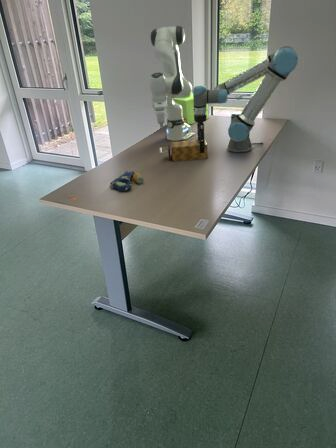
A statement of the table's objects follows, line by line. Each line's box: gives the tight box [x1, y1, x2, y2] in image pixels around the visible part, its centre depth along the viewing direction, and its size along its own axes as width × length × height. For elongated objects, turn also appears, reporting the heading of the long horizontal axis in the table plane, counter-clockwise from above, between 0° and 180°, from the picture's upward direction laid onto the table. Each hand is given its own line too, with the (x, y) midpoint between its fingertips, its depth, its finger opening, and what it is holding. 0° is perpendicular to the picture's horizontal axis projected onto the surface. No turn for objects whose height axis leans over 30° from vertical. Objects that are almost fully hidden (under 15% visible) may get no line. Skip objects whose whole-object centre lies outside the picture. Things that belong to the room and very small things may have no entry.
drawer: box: [159, 143, 172, 160], centre depth 210 cm, size 26×10×7 cm, turn 91°
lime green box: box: [173, 92, 209, 126], centre depth 283 cm, size 25×21×23 cm
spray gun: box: [109, 170, 144, 192], centre depth 182 cm, size 21×4×15 cm
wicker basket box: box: [170, 139, 208, 162], centre depth 210 cm, size 22×11×9 cm, turn 91°
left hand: (161, 127), depth 202 cm, fingers closed
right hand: (201, 149), depth 210 cm, fingers closed on wicker basket box, 11 cm apart
